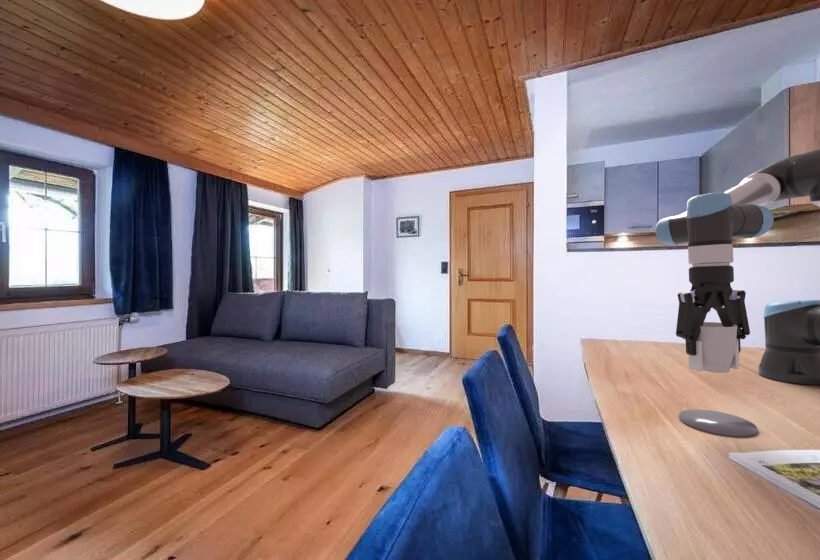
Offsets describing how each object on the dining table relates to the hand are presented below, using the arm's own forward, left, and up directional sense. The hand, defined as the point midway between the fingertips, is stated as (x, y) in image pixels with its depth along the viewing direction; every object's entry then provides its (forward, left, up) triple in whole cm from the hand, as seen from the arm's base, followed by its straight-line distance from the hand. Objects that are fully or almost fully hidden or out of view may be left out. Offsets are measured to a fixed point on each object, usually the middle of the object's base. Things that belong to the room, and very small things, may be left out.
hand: (713, 368), depth 78 cm
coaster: (0, 0, -12) cm, 12 cm away
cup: (0, 0, 0) cm, 0 cm away
